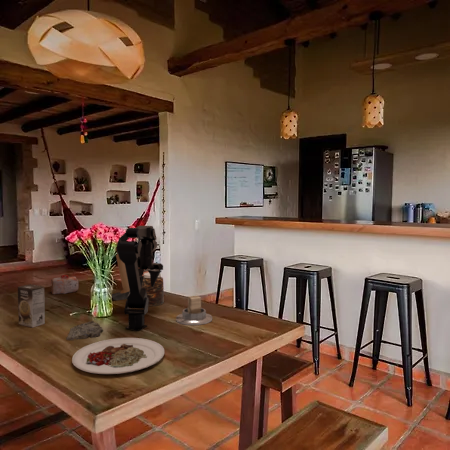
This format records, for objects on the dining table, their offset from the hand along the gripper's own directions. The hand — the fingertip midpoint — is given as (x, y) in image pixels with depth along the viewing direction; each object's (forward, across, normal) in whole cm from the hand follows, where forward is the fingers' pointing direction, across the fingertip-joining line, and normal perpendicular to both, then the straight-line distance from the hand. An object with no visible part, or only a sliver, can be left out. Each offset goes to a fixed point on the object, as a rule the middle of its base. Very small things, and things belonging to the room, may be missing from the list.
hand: (146, 288), depth 182 cm
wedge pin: (+12, -7, +21) cm, 25 cm away
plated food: (+14, +41, +21) cm, 48 cm away
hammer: (+13, -22, -30) cm, 39 cm away
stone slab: (+14, +28, -9) cm, 32 cm away
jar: (+13, -20, -12) cm, 27 cm away
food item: (+13, -15, -68) cm, 71 cm away
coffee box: (+13, +31, -36) cm, 49 cm away
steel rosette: (+13, -7, +21) cm, 26 cm away
